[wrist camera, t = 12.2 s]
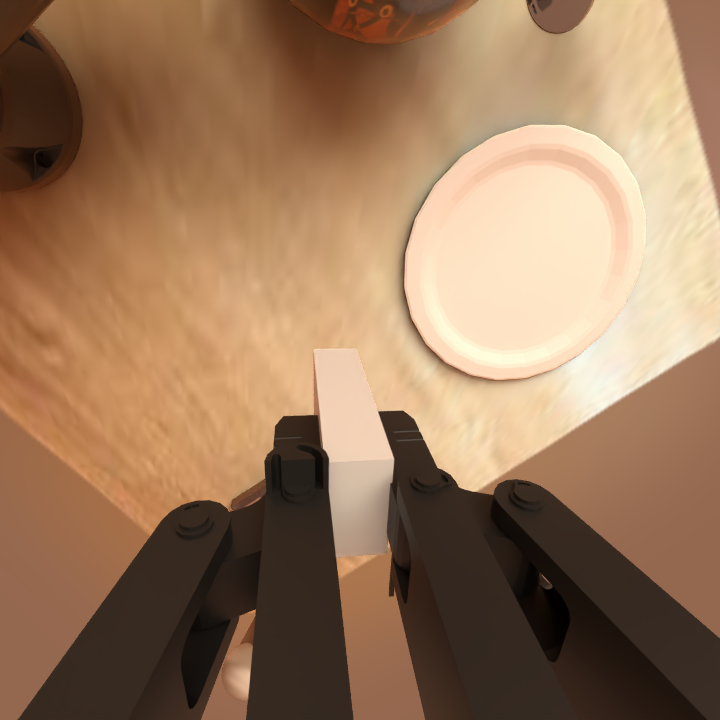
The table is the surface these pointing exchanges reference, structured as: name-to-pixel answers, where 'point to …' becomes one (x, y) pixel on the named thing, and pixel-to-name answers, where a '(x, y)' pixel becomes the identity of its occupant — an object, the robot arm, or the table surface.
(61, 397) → the table surface
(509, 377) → the plate
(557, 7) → the wine glass
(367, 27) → the amphora vase
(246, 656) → the lever
